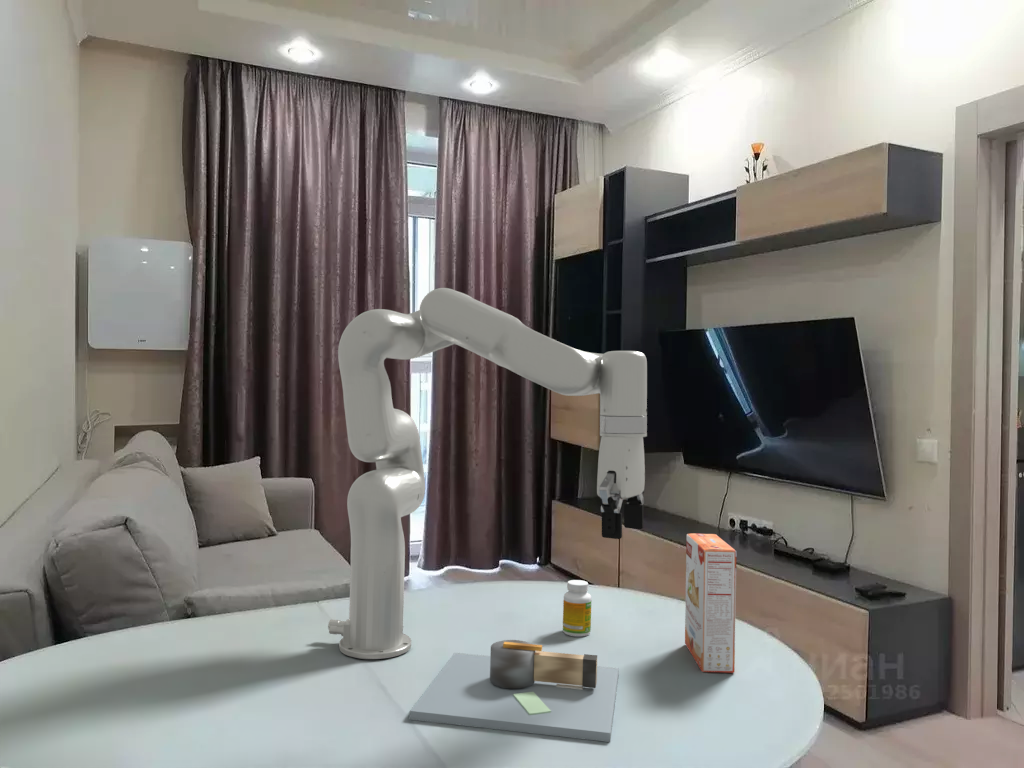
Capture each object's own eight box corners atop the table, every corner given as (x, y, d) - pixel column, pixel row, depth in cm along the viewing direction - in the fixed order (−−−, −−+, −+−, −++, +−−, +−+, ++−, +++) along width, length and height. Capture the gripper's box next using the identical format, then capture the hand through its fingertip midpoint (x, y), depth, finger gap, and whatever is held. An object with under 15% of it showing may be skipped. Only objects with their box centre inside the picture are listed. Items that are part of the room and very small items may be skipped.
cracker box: (682, 644, 141) (685, 532, 141) (715, 645, 141) (717, 533, 141) (699, 673, 127) (702, 548, 127) (735, 674, 126) (738, 549, 127)
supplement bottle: (589, 638, 143) (590, 587, 143) (560, 635, 144) (562, 584, 144) (591, 629, 148) (593, 580, 148) (564, 627, 149) (565, 577, 149)
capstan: (485, 686, 115) (486, 649, 115) (494, 669, 122) (495, 634, 122) (594, 697, 112) (595, 659, 112) (597, 679, 119) (598, 643, 119)
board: (409, 719, 106) (409, 709, 106) (454, 659, 130) (454, 651, 130) (610, 742, 101) (610, 731, 101) (618, 675, 125) (618, 666, 125)
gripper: (620, 424, 132) (620, 523, 132) (580, 428, 117) (579, 539, 117) (662, 425, 128) (662, 526, 128) (626, 430, 113) (625, 544, 113)
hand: (623, 532), depth 122 cm, fingers open, 9 cm apart
